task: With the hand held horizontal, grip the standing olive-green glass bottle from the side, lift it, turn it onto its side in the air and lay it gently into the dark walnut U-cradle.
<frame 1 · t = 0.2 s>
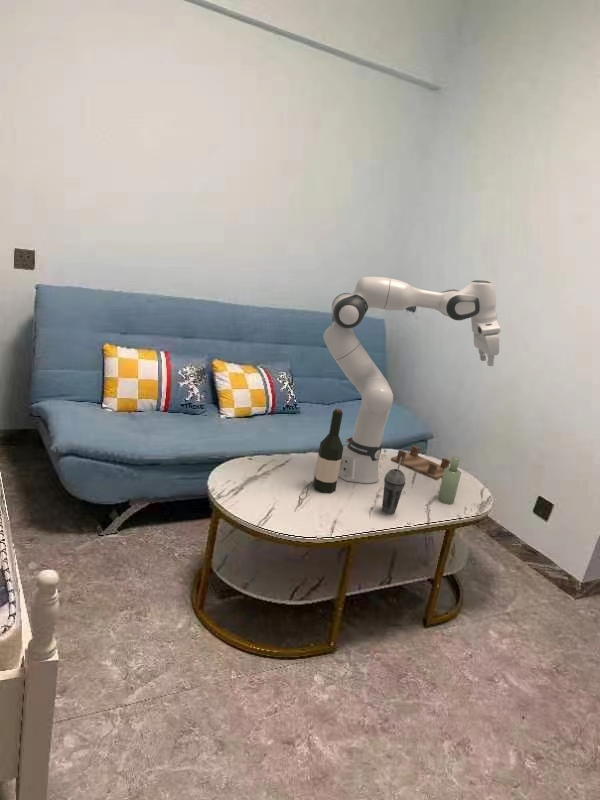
hand: (486, 363, 226), 51 cm above the table, tool tilted 15°, fingers open, 8 cm apart
wine bottle: (324, 488, 224), on the table
beverage cup: (388, 512, 214), on the table
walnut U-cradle: (421, 466, 260), on the table
olive glass bottle: (445, 500, 230), on the table
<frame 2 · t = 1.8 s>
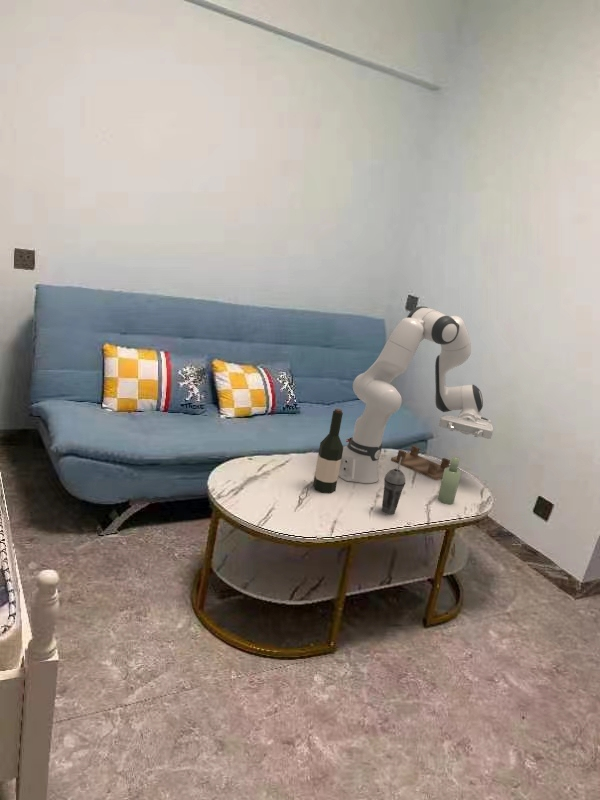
hand: (463, 431, 234), 24 cm above the table, tool horizontal, fingers open, 8 cm apart
nothing on the table moved.
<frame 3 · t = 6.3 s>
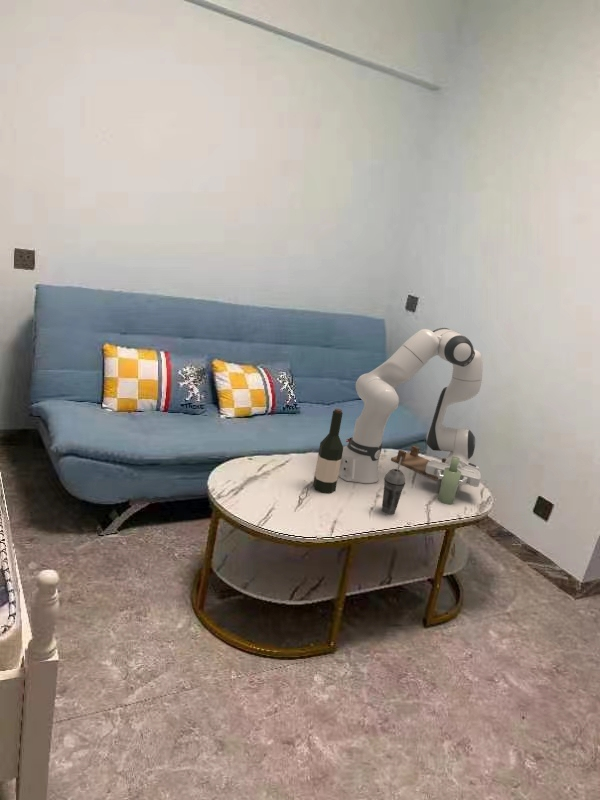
hand: (450, 480, 227), 9 cm above the table, tool horizontal, fingers closed on olive glass bottle, 6 cm apart
olive glass bottle: (445, 500, 230), on the table, touching gripper
everything else where it was.
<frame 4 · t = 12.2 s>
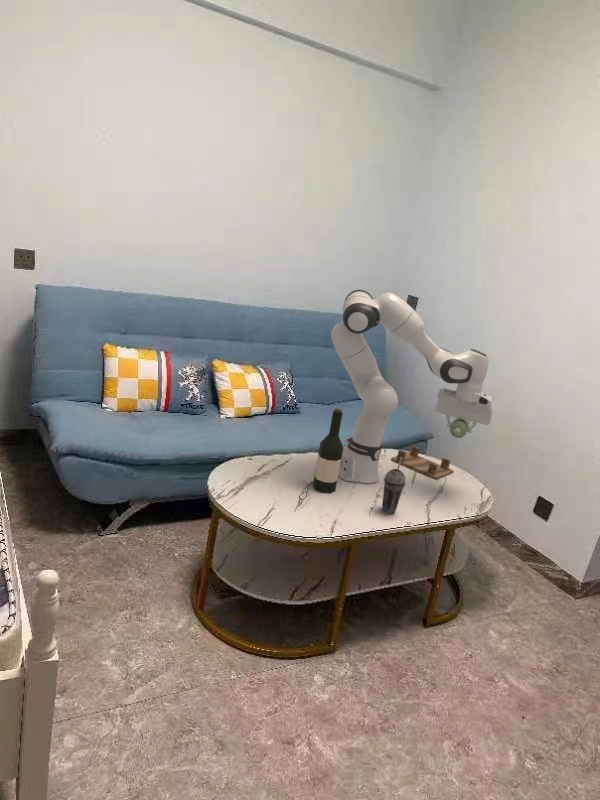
hand: (458, 429, 230), 26 cm above the table, tool pointing down, fingers closed on olive glass bottle, 6 cm apart
olive glass bottle: (461, 422, 237), point 26 cm above the table, tilted 89°, touching gripper
everything else where it was.
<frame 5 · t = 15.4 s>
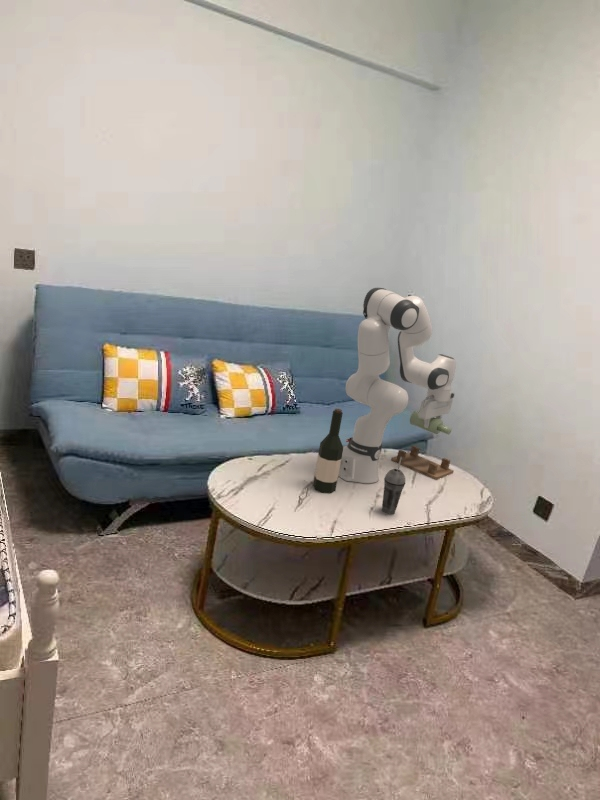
hand: (431, 426, 255), 18 cm above the table, tool pointing down, fingers closed on olive glass bottle, 6 cm apart
olive glass bottle: (413, 417, 260), point 19 cm above the table, tilted 90°, touching gripper
everything else where it was.
when the fingers open (5 cm above the table, at t = 18.2 s): olive glass bottle drops 1 cm, resting on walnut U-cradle.
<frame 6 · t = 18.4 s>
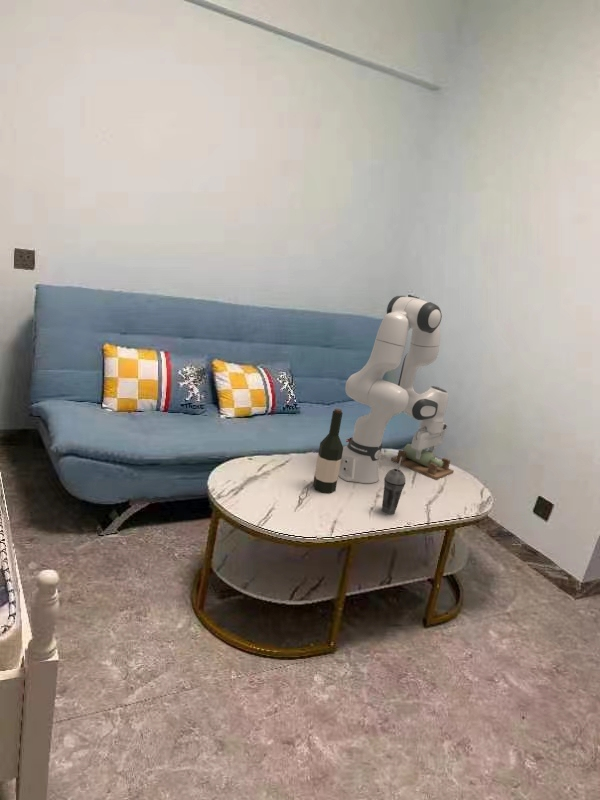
hand: (424, 456, 258), 5 cm above the table, tool pointing down, fingers open, 8 cm apart
olive glass bottle: (406, 450, 264), point 4 cm above the table, tilted 90°, touching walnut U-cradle
everything else where it was.
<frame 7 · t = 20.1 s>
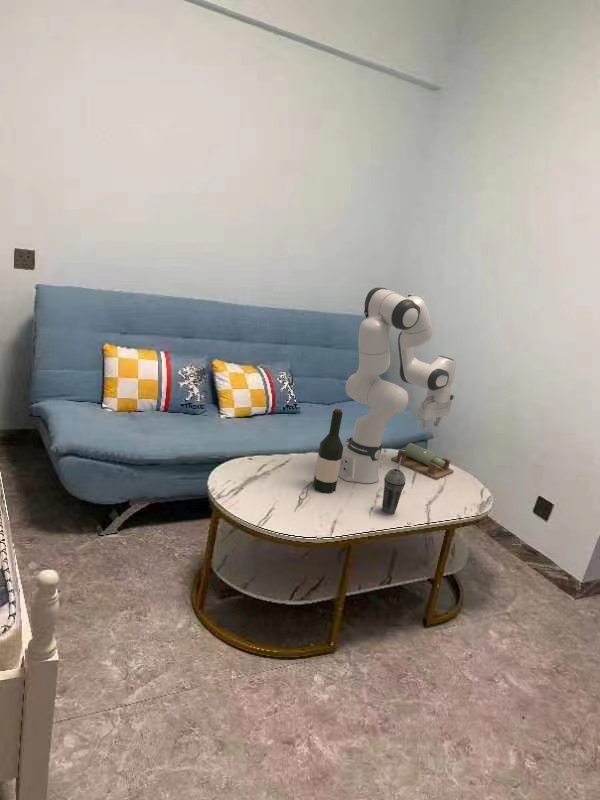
hand: (430, 427, 255), 18 cm above the table, tool pointing down, fingers open, 8 cm apart
olive glass bottle: (408, 449, 265), point 4 cm above the table, tilted 90°, touching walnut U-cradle
everything else where it was.
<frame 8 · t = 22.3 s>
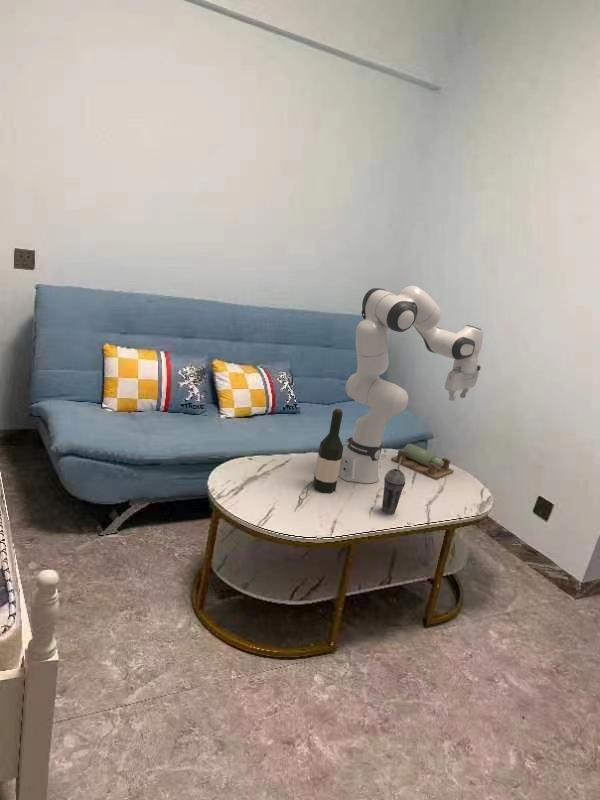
hand: (456, 399, 251), 31 cm above the table, tool pointing down, fingers open, 8 cm apart
nothing on the table moved.
at the end: olive glass bottle inside the target area on the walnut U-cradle (8.6 cm from its centre), point 4.2 cm above the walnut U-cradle's base; olive glass bottle tilted 90°; olive glass bottle touching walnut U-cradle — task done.
